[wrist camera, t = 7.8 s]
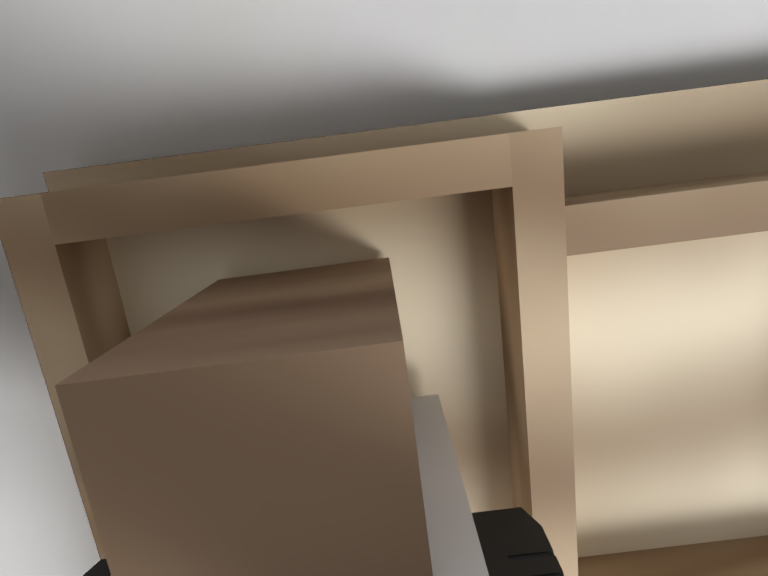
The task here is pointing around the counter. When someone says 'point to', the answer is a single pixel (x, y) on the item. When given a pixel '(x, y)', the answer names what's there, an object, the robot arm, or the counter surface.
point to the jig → (486, 298)
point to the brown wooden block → (257, 433)
